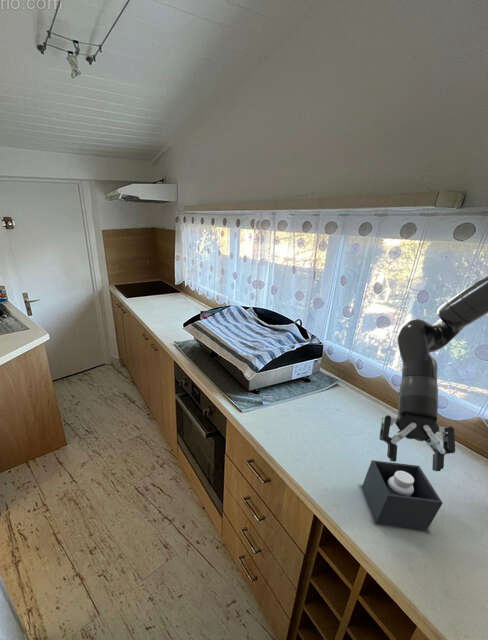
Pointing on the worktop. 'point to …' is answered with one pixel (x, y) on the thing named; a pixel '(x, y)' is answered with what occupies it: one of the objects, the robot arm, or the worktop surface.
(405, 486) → the pill bottle
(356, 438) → the worktop surface
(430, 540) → the worktop surface
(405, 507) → the waste bin
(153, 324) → the worktop surface
